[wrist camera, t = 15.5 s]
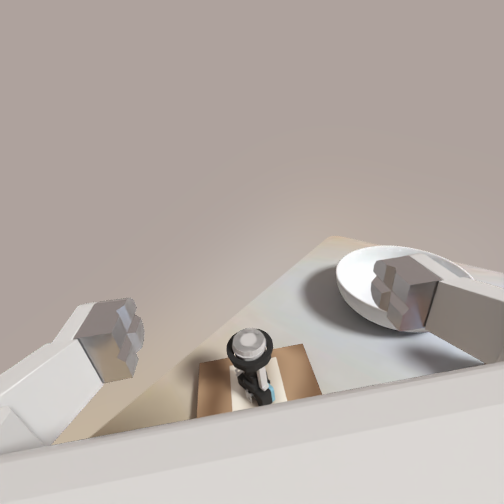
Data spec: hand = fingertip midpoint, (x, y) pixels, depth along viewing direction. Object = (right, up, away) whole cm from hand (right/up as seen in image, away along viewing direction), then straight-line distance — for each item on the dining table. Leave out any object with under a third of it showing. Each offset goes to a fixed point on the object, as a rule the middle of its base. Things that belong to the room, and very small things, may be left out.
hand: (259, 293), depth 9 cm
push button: (0, -17, +26) cm, 31 cm away
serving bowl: (+26, -8, +39) cm, 48 cm away
